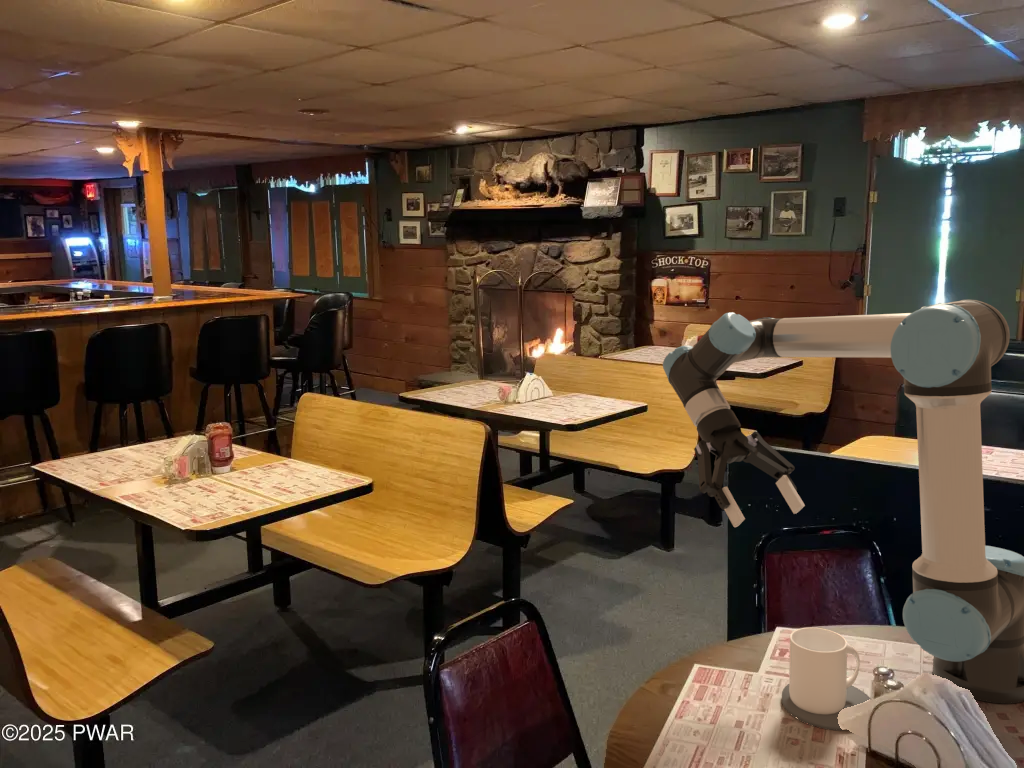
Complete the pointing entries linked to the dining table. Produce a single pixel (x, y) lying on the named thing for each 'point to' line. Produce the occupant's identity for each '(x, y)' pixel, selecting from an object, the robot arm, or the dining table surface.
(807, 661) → the mug
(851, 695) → the coaster mat
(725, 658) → the dining table surface
